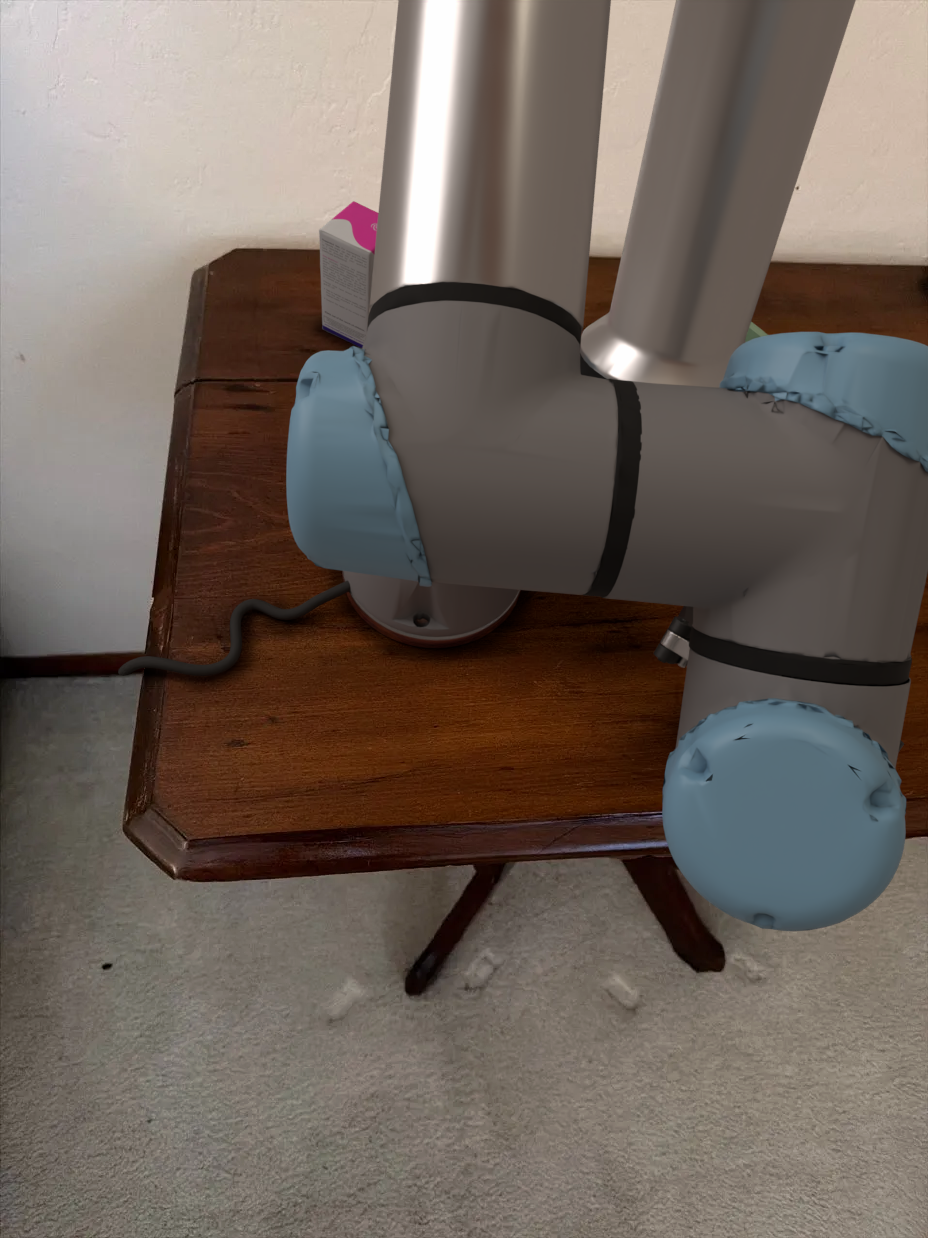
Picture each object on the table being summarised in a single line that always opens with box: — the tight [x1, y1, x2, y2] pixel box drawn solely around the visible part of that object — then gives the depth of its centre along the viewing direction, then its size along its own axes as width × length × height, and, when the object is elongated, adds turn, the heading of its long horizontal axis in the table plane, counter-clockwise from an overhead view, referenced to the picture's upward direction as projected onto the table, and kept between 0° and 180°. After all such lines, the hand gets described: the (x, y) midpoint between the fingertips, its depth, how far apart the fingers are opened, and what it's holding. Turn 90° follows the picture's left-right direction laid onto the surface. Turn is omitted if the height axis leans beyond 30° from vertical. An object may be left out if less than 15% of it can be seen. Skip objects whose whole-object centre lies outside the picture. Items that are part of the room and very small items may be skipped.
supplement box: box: [318, 201, 379, 349], centre depth 85 cm, size 6×6×12 cm
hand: (772, 651), depth 63 cm, fingers closed on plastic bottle, 6 cm apart
